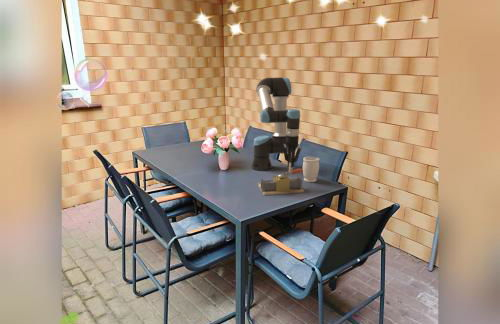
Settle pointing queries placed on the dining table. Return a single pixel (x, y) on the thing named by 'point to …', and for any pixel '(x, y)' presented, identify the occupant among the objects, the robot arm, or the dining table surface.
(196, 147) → the dining table surface
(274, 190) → the board
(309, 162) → the jar
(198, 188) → the dining table surface
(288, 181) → the valve pipe
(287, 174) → the lever
